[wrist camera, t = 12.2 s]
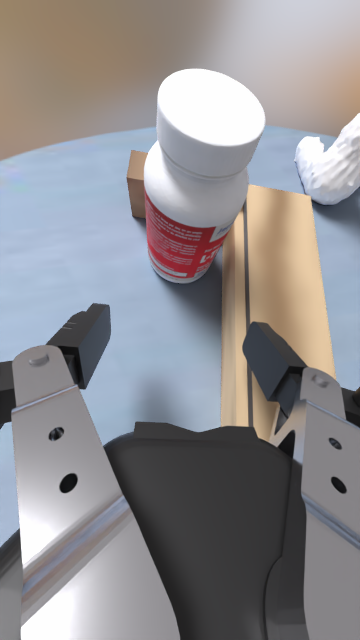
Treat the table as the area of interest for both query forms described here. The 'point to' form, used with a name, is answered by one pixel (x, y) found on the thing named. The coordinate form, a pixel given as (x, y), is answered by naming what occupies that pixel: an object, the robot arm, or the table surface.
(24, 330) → the table surface
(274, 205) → the wooden l-shaped block
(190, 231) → the pill bottle
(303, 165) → the seated beast figurine
